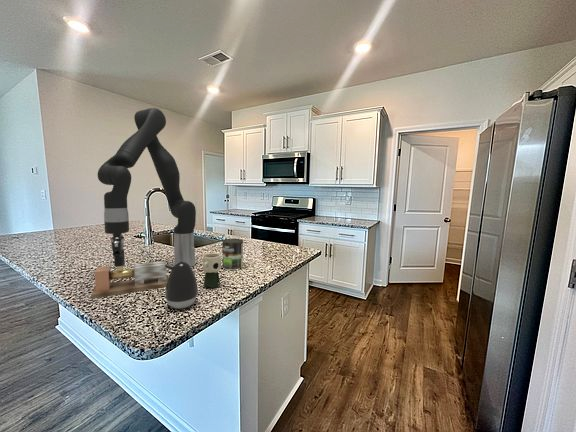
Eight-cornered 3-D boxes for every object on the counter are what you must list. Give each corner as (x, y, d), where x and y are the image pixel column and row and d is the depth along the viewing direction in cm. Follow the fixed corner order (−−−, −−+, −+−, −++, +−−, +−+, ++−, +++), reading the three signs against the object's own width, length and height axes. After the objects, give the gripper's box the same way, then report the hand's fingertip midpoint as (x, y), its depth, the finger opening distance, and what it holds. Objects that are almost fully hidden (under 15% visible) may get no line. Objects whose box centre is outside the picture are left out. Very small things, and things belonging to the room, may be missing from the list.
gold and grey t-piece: (141, 274, 99) (140, 247, 98) (141, 276, 97) (140, 249, 95) (101, 279, 93) (100, 250, 91) (100, 282, 90) (99, 252, 89)
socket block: (111, 284, 96) (110, 265, 95) (109, 290, 90) (108, 270, 90) (98, 286, 93) (97, 267, 93) (95, 292, 88) (94, 272, 88)
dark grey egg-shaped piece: (171, 298, 89) (171, 257, 87) (201, 298, 89) (201, 257, 88) (159, 312, 78) (158, 266, 77) (193, 312, 79) (192, 266, 78)
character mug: (212, 292, 95) (212, 259, 93) (196, 290, 96) (195, 257, 95) (226, 282, 105) (226, 252, 104) (211, 280, 107) (211, 251, 105)
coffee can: (235, 272, 118) (235, 243, 116) (217, 269, 122) (217, 241, 120) (246, 266, 127) (247, 239, 126) (230, 263, 131) (230, 237, 130)
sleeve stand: (167, 278, 108) (167, 259, 107) (169, 286, 99) (169, 265, 98) (95, 288, 95) (94, 267, 94) (91, 298, 86) (90, 275, 85)
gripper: (127, 222, 88) (129, 268, 89) (129, 217, 100) (131, 258, 102) (101, 222, 84) (104, 271, 86) (106, 218, 96) (108, 260, 98)
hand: (118, 264), depth 94 cm, fingers open, 4 cm apart
